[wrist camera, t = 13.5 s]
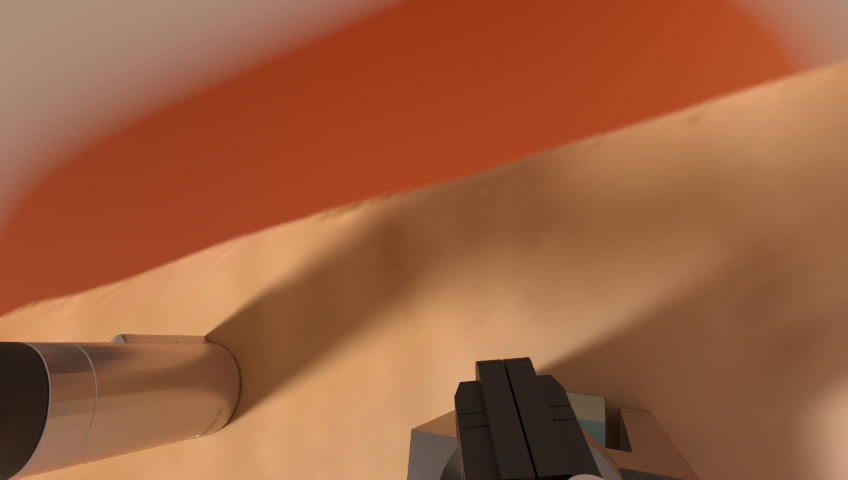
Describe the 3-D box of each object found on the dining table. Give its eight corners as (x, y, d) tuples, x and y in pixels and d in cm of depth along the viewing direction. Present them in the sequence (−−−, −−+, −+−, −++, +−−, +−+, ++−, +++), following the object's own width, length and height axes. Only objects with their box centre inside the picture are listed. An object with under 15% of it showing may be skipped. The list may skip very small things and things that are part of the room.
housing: (499, 371, 36) (396, 398, 18) (650, 389, 32) (712, 448, 14) (494, 464, 35) (377, 593, 17) (651, 495, 31) (721, 712, 13)
